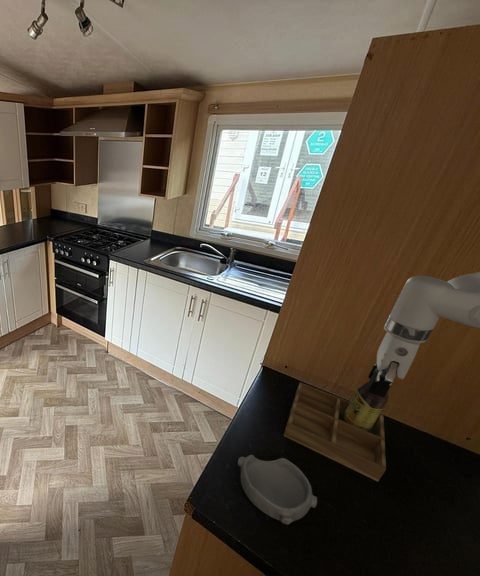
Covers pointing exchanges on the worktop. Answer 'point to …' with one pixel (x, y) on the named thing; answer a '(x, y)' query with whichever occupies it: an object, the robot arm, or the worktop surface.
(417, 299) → the robot arm
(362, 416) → the sauce bottle
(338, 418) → the grid
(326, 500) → the worktop surface
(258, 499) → the dish
